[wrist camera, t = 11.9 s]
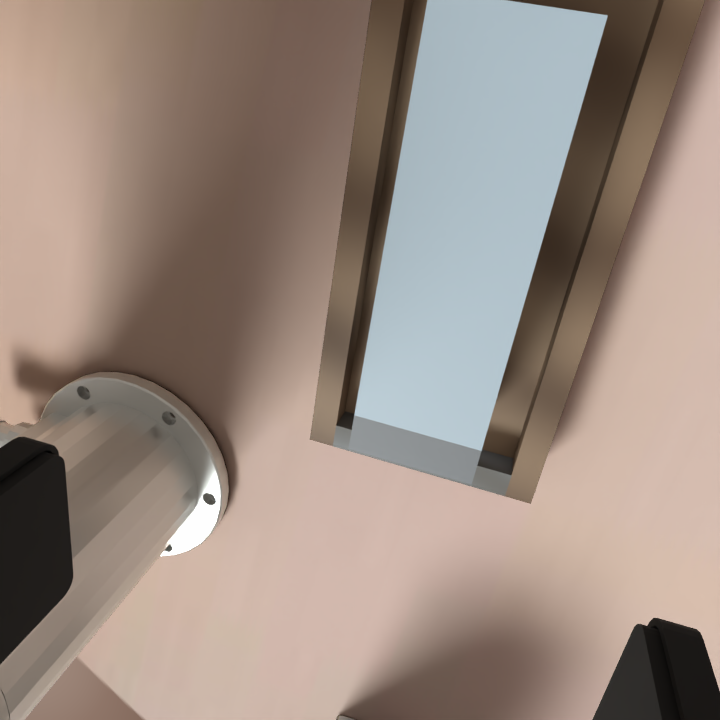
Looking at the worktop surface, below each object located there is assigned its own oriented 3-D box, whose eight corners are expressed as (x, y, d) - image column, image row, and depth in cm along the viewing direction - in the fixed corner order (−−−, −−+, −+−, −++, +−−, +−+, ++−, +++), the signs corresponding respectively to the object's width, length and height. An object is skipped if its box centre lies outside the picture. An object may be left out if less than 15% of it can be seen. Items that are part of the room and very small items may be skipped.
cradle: (531, 468, 31) (530, 503, 29) (328, 411, 33) (309, 439, 30) (707, -54, 21) (730, -74, 19) (405, -92, 23) (387, -115, 21)
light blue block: (456, 12, 23) (429, -12, 18) (592, 33, 22) (608, 15, 17) (383, 385, 30) (348, 449, 25) (485, 413, 29) (471, 485, 24)
